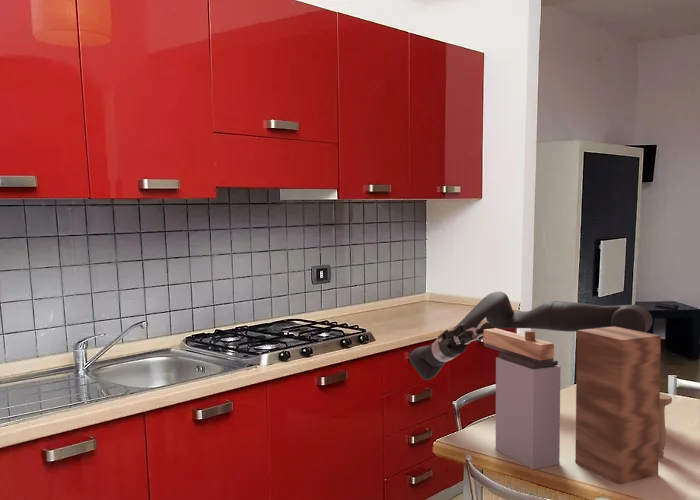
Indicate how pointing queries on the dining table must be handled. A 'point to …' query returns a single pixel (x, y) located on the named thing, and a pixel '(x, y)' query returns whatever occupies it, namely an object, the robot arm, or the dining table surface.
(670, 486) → the dining table surface
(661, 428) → the handle
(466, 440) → the dining table surface
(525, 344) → the stamp
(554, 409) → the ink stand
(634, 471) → the shelf block
